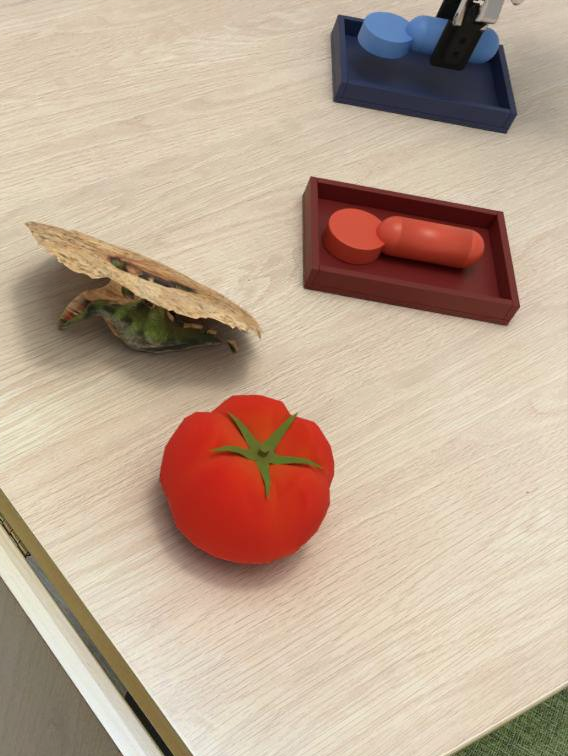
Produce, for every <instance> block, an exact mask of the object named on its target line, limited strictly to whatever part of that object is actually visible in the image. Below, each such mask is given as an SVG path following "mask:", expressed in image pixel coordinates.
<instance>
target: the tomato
mask: <svg viewBox="0 0 568 756" xmlns="http://www.w3.org/2000/svg"><path fill="white" fill-rule="evenodd" d="M298 414H299V411H298V412H296V413H294V414H291V413H290V411H289V410H288V408H287V406H286V405H285V404H284V402H283V401H282V400H279V399H275V398H272V397H269V396H265V395H262V394H235V395H231V396H229V397H228V398H226V399H225V400H224V401H222V402H221V403H220V404H219V405H218V406H216V407H215V408H214V409H213V410H212V411H195V412H193V413H191V414H189V415H188V416H185V417H184V418H183V419H182V421H181V422H180V424H179V425H178V427H177V428H176V429H175V430H174V432H173V433H172V435H171V436H170V438H169V439H168V441H167V442H166V444H165V445H164V449H163V454H162V460H161V464H160V469H159V478H158V481H159V485H160V486H161V489H162V491H163V493H164V495H165V497H166V499H167V503H168V506H169V509H170V512H171V515H172V518H173V521H174V524H175V527H176V529H177V530H178V531H179V532H180V533H181V534H182V535H183V536H184V537H185V538H186V539H187V540H188V541H189V542H190V543H191V545H193V546H194V547H195V548H198V549H200V550H201V551H203V552H205V553H206V554H208V555H210V556H212V557H213V558H216V559H220V560H225V561H228V562H232V563H237V564H253V565H254V564H255V565H257V564H258V565H259V564H260V565H263V564H267V563H272V562H275V561H277V560H280V559H283V558H286V557H289V556H291V555H294V554H295V553H296V552H298V551H299V550H300V549H301V548H302V547H303V546H304V545H305V544H306V543H307V542H308V541H309V540H311V538H312V537H314V536H315V535H316V534H317V532H318V531H319V529H320V527H321V525H322V524H323V521H324V520H325V518H326V516H327V513H328V512H329V511H328V510H329V508H330V506H331V490H330V488H331V485H332V483H333V479H334V476H335V458H334V454H333V449H332V445H331V444H330V442H329V440H328V439H327V438H326V436H325V434H324V432H323V430H322V429H321V428H320V426H319V425H318V424H317V423H316V422H315V421H313V420H310V419H307V418H304V417H300V416H298Z"/></svg>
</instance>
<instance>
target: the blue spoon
mask: <svg viewBox="0 0 568 756" xmlns="http://www.w3.org/2000/svg"><path fill="white" fill-rule="evenodd" d="M363 19H364V22H363V24H362V27H361V29H360V31H359V34H358V41H359V43H360V45H361V46H362V47H363V48H364V49H365V50H367V51H368V52H370V53H371V54H374V55H376V56H379V57H382V58H388V59H396V58H401V57H403V56H405V55H406V54H407V53H408V51H409V50H411V51H414V52H418V53H423V54H428V55H432V53H433V51H434V49H435V47H436V45H437V43H438V40H439V38H440V36H441V34H442V32H443V30H444V28H445V26H446V24H447V22H448V20H447V19H442V18H437V17H436V16H432V15H425V14H422V15H418V16H416V17H414V18H412V19H411V20H410V21H409V20H408V19H406V18H404V17H403V16H401V15H398V14H395V13H392V12H389V11H374V12H371V13H368V14H367V15H366V16H365V17H364V18H363ZM499 44H500V38H499V34H498V33H497V32H496V31H495V30H494V29H492V28H491V27H489V26H488V27H487V29H486V30H485V32H483V34H482V36H481V38H480V40H479V42H478V43H477V45H476V47H475V49H474V51H473V53H472V55H471V57H470V59H469V61H468V62H469V63H475V64H481V63H484V62H487V61H488V60H490V59H491V58H492V57H493V56H494V55H495V54H496V52H497V50H498V47H499Z"/></svg>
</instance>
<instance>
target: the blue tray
mask: <svg viewBox="0 0 568 756" xmlns="http://www.w3.org/2000/svg"><path fill="white" fill-rule="evenodd" d="M364 19H365V18H361V17H356V16H351V15H345V14H339V13H338V14H337V16H336V19H335V22H334V25H333V27H332V29H331V32H330V45H331V48H330V49H331V71H332V95H333V102H334V103H335V102H336V103H339V104H340V103H341V104H347V105H352V106H357V107H362V108H368V109H374V110H378V111H383V112H384V111H385V112H389V113H394V114H402V115H404V116H411V117H416V118H422V119H427V120H433V121H437V122H442V123H443V122H444V123H448V124H454V125H459V126H460V125H461V126H463V127H470V128H475V129H480V130H487V131H492V132H495V133H496V132H497V133H502V134H507V133H508V131H509V130H510V128H511V127H512V125H513V123H514V122H515V119H516V118H517V116H518V110H517V105H516V99H515V95H514V90H513V86H512V82H511V77H510V73H509V72H510V71H509V67H508V63H507V57H506V52H505V48H504V45H503V44H500V43H499V47H498V50H497V52H496V54H495V55H494V56H493V57H492V58H491V59H490V60H488V61H487V62H484V63H481V64H475V63H469V62H468V63H467V65H466V67H465V68H464V69H463V70H462V71H457V70H452V69H447V68H441V67H436V66H432V65H431V64H430V57H431V55H428V54H423V53H418V52H414V51H411V50H409V51H408V53H407V54H406V55H405V56H403V57H401V58H396V59H388V58H382V57H379V56H376V55H374V54H371V53H370V52H368V51H367V50H365V49H364V48H363V47H362V46H361V45H360V43H359V41H358V34H359V31H360V29H361V27H362V24H363V22H364Z"/></svg>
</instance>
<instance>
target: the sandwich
mask: <svg viewBox="0 0 568 756" xmlns="http://www.w3.org/2000/svg"><path fill="white" fill-rule="evenodd" d="M23 224H24V225H25V226H26V227H27V228H28V229H29V231H30V233H31V235H32V237H33V238H35V241H36V242H37V244H36V245H37V246H41V247H42V248H44V251H45V252H48V253H49V254H50V255H53V256H56V258H57V261H58V263H61V264H63V265H64V266H65V267H66V268H68V269H69V270H70V271H72V272H74V273H77V274H84V275H86V276H88V277H89V278H91V279H102V278H108V279H109V281H108V282H107V284H105V285H104V286H102V287H98V288H91V289H87V290H85V291H83V292H81V293H80V294H78V295H77V296H76V297H75V298H73V299H72V300H71V301H70V302H69V303H68V304H67V305H65V307H64V308H63V310H62V311H61V313H60V315H59V318H58V320H57V322H56V327H57V329H58V330H64V329H65V328H67V327H69V326H70V325H71V324H72V323H73V322H77V321H83V320H87V319H90V318H92V317H95V316H97V317H101V318H103V320H104V322H105V323H106V325H107V326H108V328H109V329H110V330H111V332H112V333H113V335H114V336H115V337H116V338H117V339H119V340H120V341H121V342H122V343H123V344H125V345H126V346H127V347H129V349H132V350H134V351H139V352H147V353H153V354H156V355H157V354H158V355H164V354H166V353H171V352H172V353H173V352H180V351H185V350H187V349H192V348H193V349H194V348H198V347H204V346H213V345H214V346H215V345H220V344H221V343H222V340H221V339H220V338H219V337H218V336H216V334H217V333H218V332H217V331H216V330H215V329H208V330H207V332H203V331H202V329H203V327H204V326H203V325H201V323H197V322H189V321H186V320H183V321H182V320H180V318H179V317H177V315H181V316H185V317H189V318H191V319H195V320H198V319H200V318H202V319H208V318H209V319H213V320H216V321H219V322H220V323H222V324H224V325H227V326H229V327H230V328H232V329H234V328H237V329H239V331H240V332H243V333H247V334H250V333H251V332H253V334H254V336H257V337H258V339H259V340H260V341H262V334H264V335H266V334H265V331H264V330H263V329H262V327H261V326H260V325H259V323H258V322H257V320H256V318H255V317H254V316H253V315H252V314H251V313H250V312H249V311H248V310H247V309H245V308H242V307H240V305H239V304H237V303H236V302H234V301H233V300H231V299H229V298H228V297H227V296H225V295H224V294H222V293H220V292H218V291H216V290H215V289H212V288H211V287H208V286H206V285H204V284H202V283H200V282H198V281H197V280H195V279H192V278H191V277H189V276H188V275H186V274H184V273H182V272H180V271H178V270H176V269H174V268H172V267H170V266H168V265H166V264H164V263H162V262H160V261H156V260H154V259H152V258H149V257H147V256H145V255H143V254H140V253H138V252H135V251H133V250H130V249H127V248H125V247H121V246H119V245H115V244H113V243H110V242H107V241H104V240H101V239H98V238H96V237H93V236H92V235H88V234H86V233H83V232H81V231H77V230H72V229H65V228H63V227H58V226H54V225H51V224H46V223H41V222H37V221H27V222H24V223H23ZM147 301H148V302H150V303H151V304H152V305H149V304H147V303H146V302H147ZM176 314H177V315H176ZM225 342H226V344H227V346H228V348H229V350H230V352H231V353H232V354H236V353H237V352H238V345H237V343H236V341H235V340H234V339H232V338H227V339H226V340H225Z"/></svg>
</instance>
